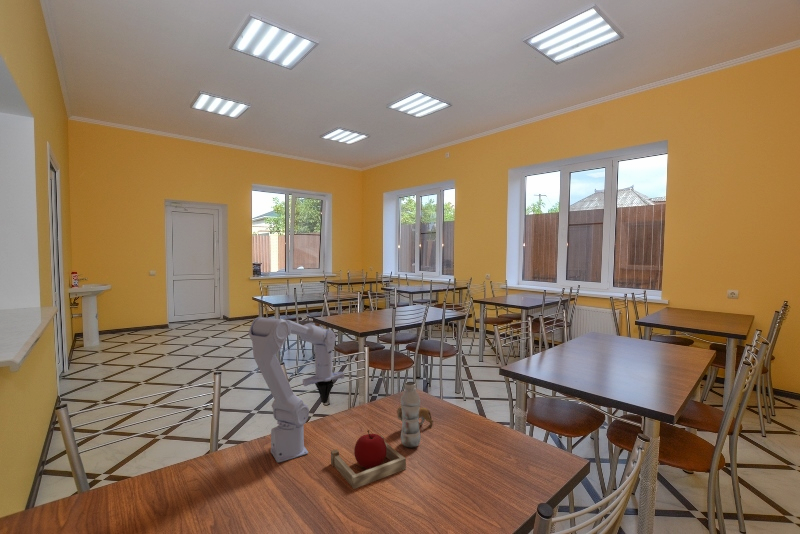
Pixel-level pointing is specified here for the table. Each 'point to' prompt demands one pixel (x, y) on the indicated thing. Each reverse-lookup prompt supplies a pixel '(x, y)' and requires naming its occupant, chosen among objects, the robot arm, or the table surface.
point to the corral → (371, 474)
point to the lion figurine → (423, 414)
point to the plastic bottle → (410, 416)
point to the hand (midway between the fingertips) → (324, 402)
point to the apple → (370, 450)
